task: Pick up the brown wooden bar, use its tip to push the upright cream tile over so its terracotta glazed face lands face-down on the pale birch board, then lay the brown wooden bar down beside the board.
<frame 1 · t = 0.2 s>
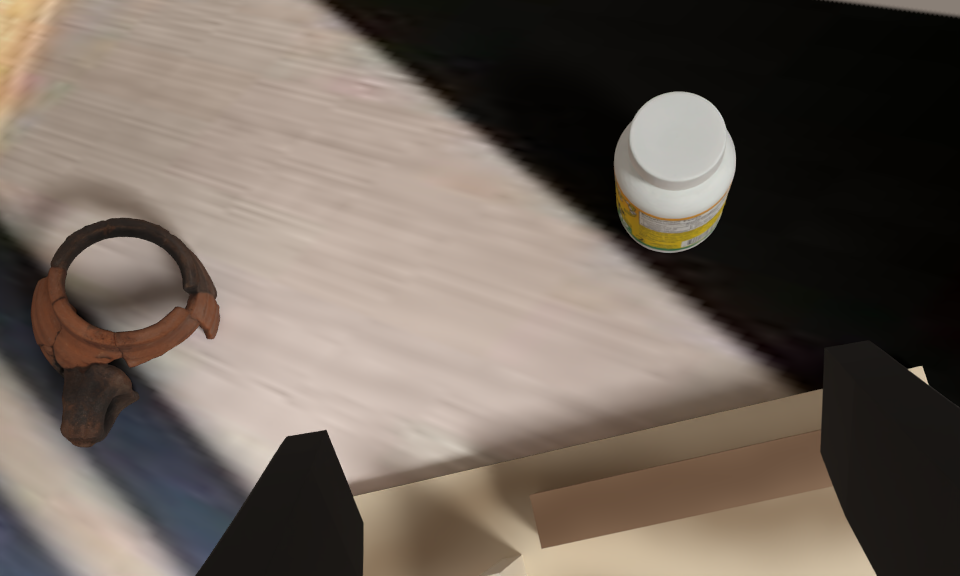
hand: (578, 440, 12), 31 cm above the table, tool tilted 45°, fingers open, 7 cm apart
brown wooden bar: (726, 476, 40), point 1 cm above the table, touching board
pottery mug: (146, 341, 48), on the table
supplement bottle: (668, 205, 45), on the table
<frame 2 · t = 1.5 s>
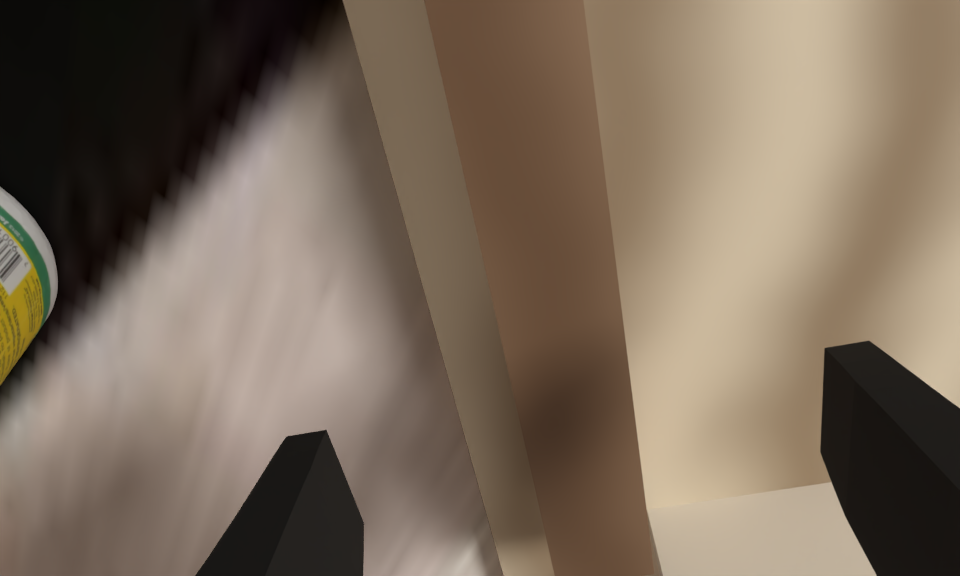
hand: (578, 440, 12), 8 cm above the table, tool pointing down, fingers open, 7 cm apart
brown wooden bar: (539, 201, 19), point 1 cm above the table, touching board
board: (836, 335, 22), on the table
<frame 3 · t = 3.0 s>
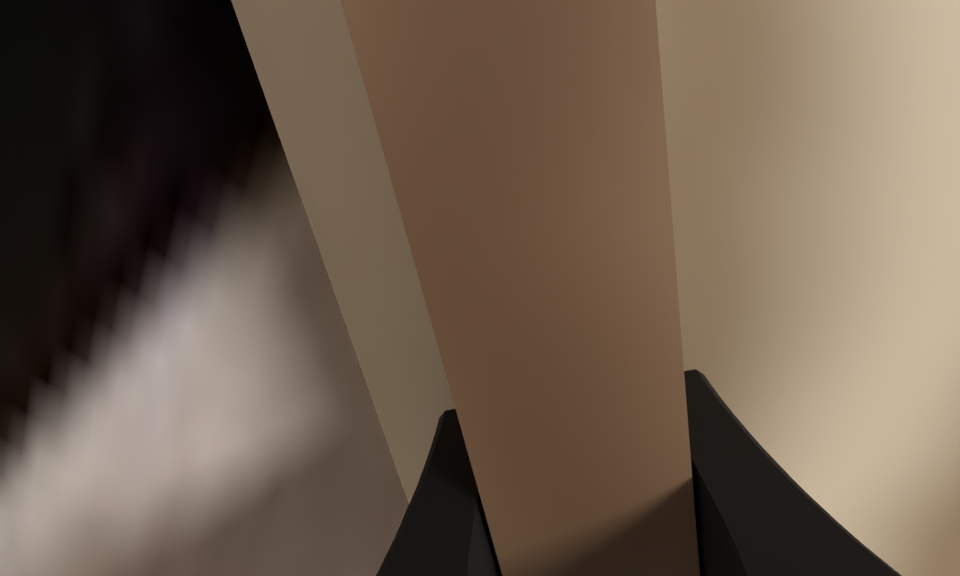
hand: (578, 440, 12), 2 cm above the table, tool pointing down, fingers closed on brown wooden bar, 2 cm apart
brown wooden bar: (570, 399, 13), point 1 cm above the table, touching board, gripper
board: (958, 534, 17), on the table
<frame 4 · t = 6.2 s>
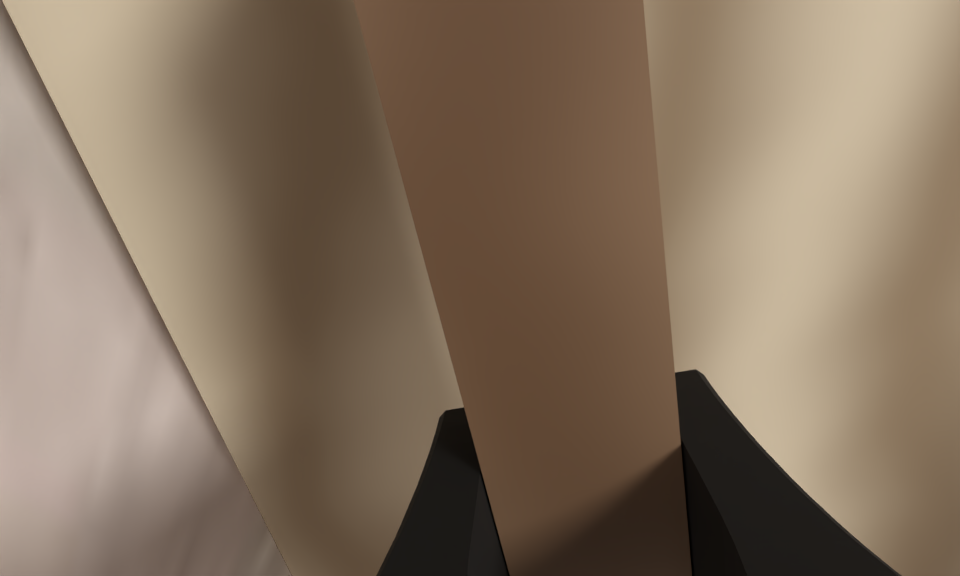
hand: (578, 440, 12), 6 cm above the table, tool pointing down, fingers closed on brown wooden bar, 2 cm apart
brown wooden bar: (566, 377, 14), point 5 cm above the table, touching gripper
board: (645, 298, 19), on the table
when the fingers open (2 cm above the table, at t = 10.0 s): brown wooden bar stays where it is, resting on board.
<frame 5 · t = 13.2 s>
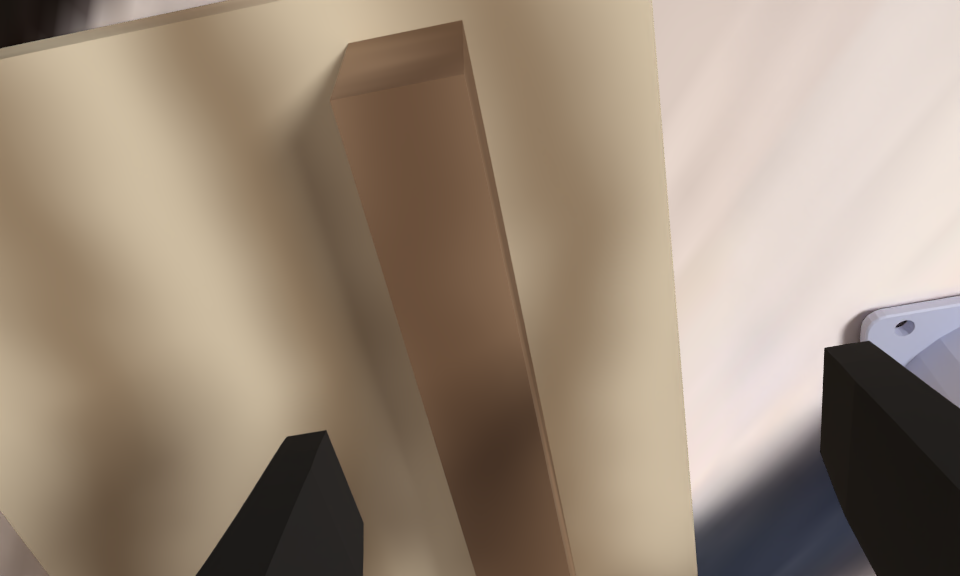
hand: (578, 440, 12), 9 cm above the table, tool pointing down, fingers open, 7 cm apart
brown wooden bar: (486, 366, 22), point 1 cm above the table, touching board
board: (366, 514, 27), on the table
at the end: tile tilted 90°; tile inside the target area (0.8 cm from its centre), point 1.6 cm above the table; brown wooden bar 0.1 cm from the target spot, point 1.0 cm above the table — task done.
